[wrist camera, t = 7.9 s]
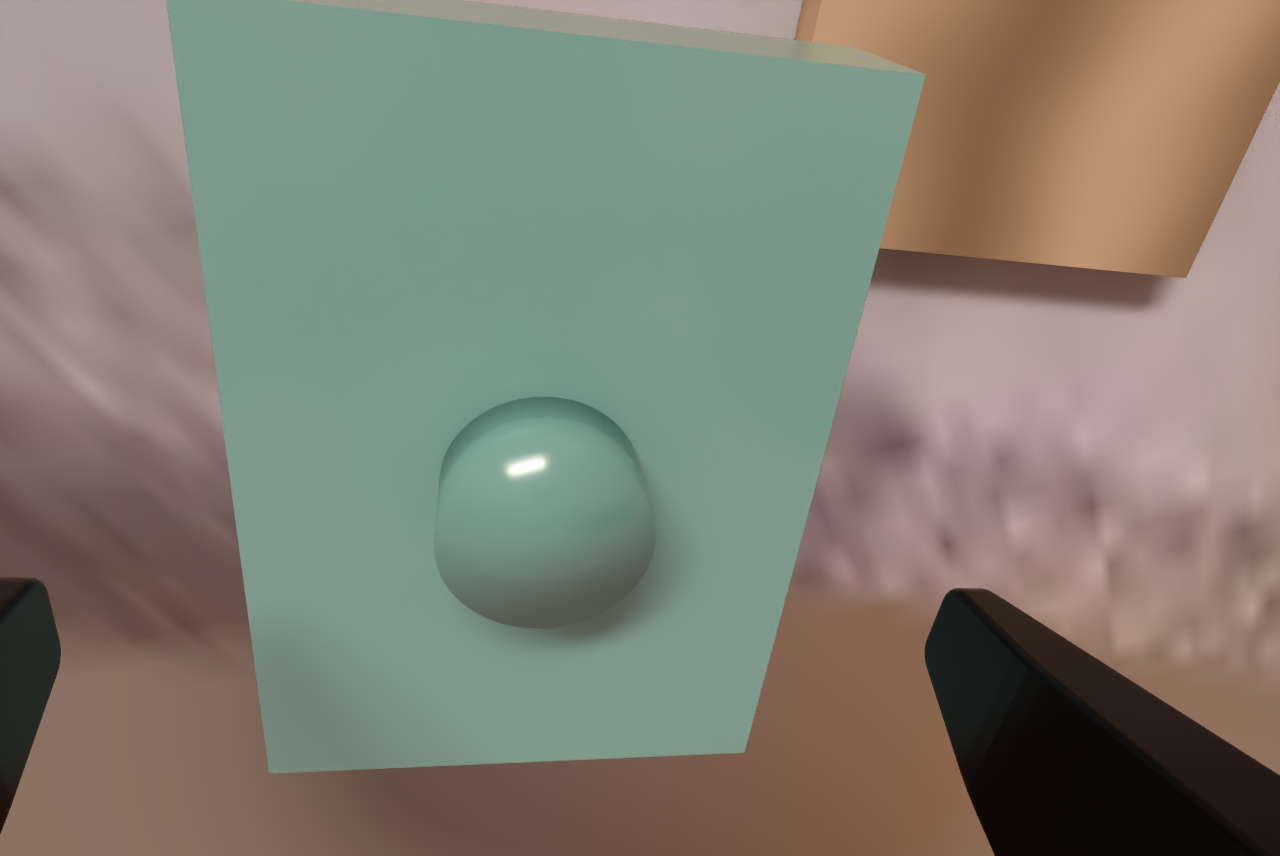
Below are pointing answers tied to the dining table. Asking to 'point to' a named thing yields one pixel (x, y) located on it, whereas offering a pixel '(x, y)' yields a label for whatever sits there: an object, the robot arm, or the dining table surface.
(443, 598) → the lid
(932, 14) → the mat
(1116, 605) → the dining table surface
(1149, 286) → the dining table surface
